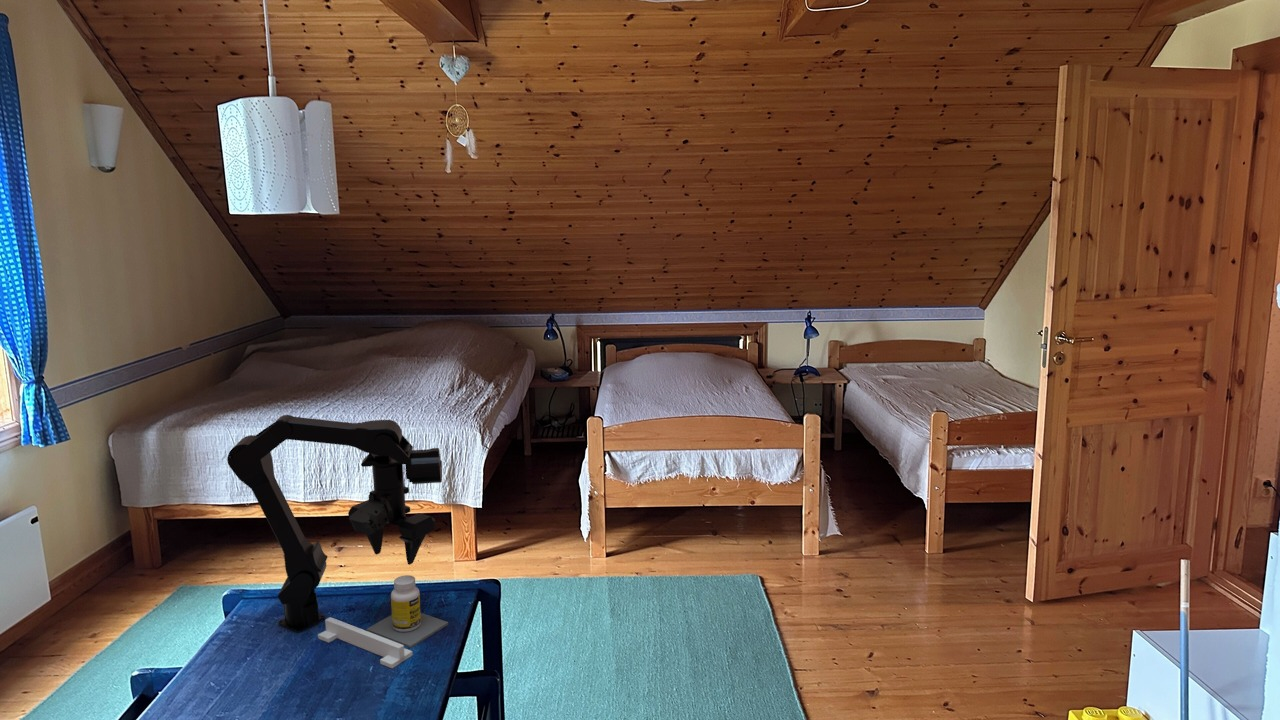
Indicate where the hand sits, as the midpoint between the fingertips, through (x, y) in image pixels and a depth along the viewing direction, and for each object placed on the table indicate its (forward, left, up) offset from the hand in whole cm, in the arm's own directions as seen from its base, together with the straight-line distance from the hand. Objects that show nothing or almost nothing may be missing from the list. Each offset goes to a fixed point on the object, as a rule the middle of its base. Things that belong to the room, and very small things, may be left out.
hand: (393, 558), depth 164 cm
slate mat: (+6, -3, -12) cm, 14 cm away
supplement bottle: (+6, -3, -12) cm, 13 cm away
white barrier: (+4, -12, -12) cm, 17 cm away
